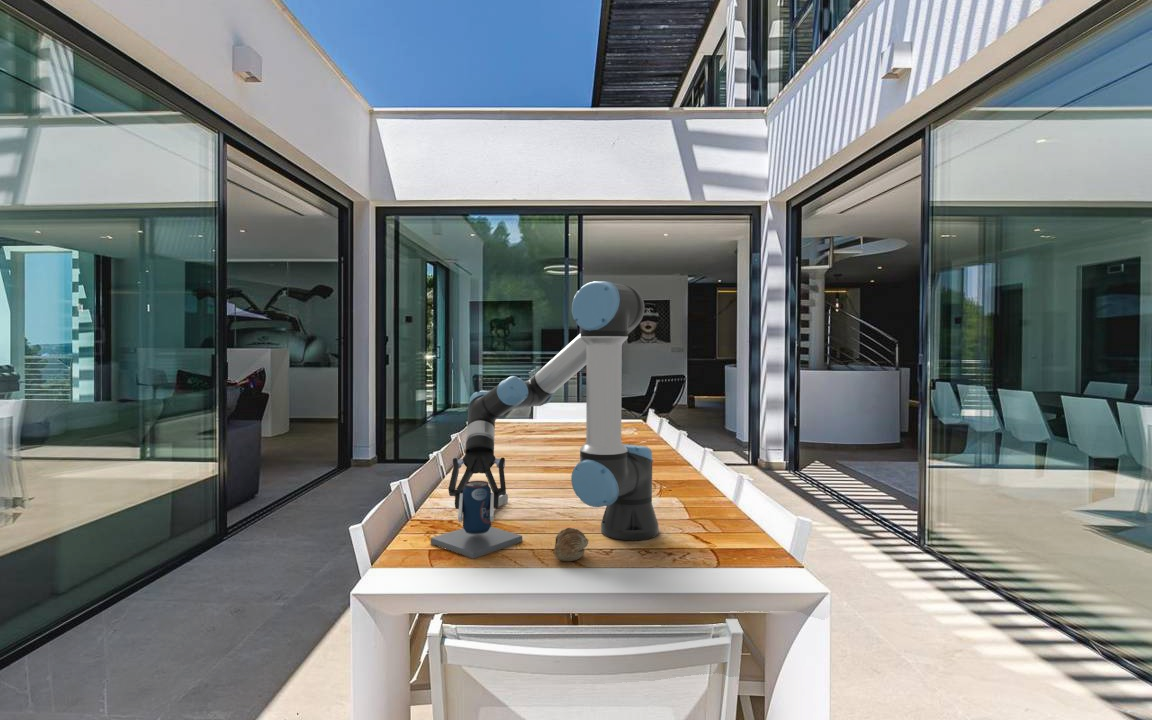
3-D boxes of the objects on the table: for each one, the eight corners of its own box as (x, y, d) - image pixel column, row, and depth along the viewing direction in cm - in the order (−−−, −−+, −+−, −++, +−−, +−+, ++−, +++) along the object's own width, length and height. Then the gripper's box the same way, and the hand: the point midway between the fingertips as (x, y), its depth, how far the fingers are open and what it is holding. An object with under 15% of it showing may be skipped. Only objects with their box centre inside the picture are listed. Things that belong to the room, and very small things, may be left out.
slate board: (522, 541, 154) (522, 535, 154) (473, 558, 142) (473, 552, 142) (479, 528, 165) (479, 523, 165) (430, 543, 152) (430, 537, 152)
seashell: (590, 555, 146) (557, 550, 148) (593, 526, 146) (560, 521, 148) (582, 568, 137) (548, 562, 139) (585, 536, 137) (551, 531, 139)
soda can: (488, 535, 150) (488, 486, 149) (460, 535, 150) (460, 486, 150) (493, 526, 157) (492, 480, 156) (465, 526, 157) (465, 479, 157)
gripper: (517, 449, 169) (516, 525, 153) (444, 450, 167) (436, 527, 152) (517, 433, 163) (516, 510, 148) (441, 434, 162) (432, 512, 146)
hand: (475, 519), depth 150 cm, fingers closed on soda can, 7 cm apart
